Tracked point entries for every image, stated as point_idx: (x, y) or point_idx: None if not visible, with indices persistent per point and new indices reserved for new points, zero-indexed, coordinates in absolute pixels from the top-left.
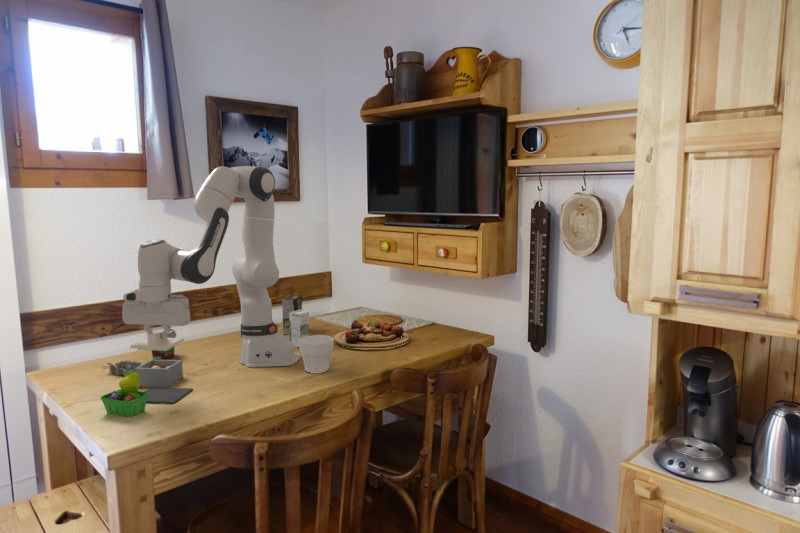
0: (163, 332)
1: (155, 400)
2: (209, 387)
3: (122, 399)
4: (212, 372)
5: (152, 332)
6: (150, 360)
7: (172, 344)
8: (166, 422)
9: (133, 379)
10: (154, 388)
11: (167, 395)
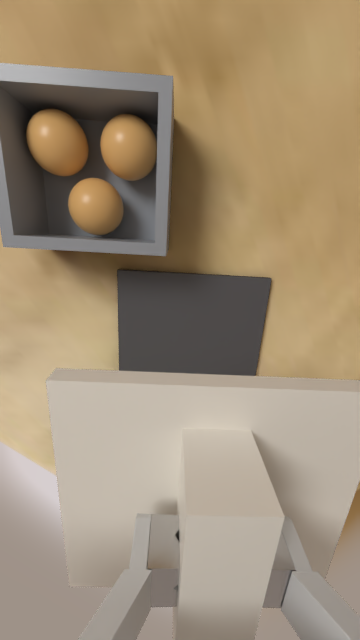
0: (302, 632)
1: None
2: (319, 245)
3: None
4: (285, 22)
5: (150, 572)
6: None
7: (337, 535)
8: None
9: None
10: (136, 283)
11: (212, 344)
